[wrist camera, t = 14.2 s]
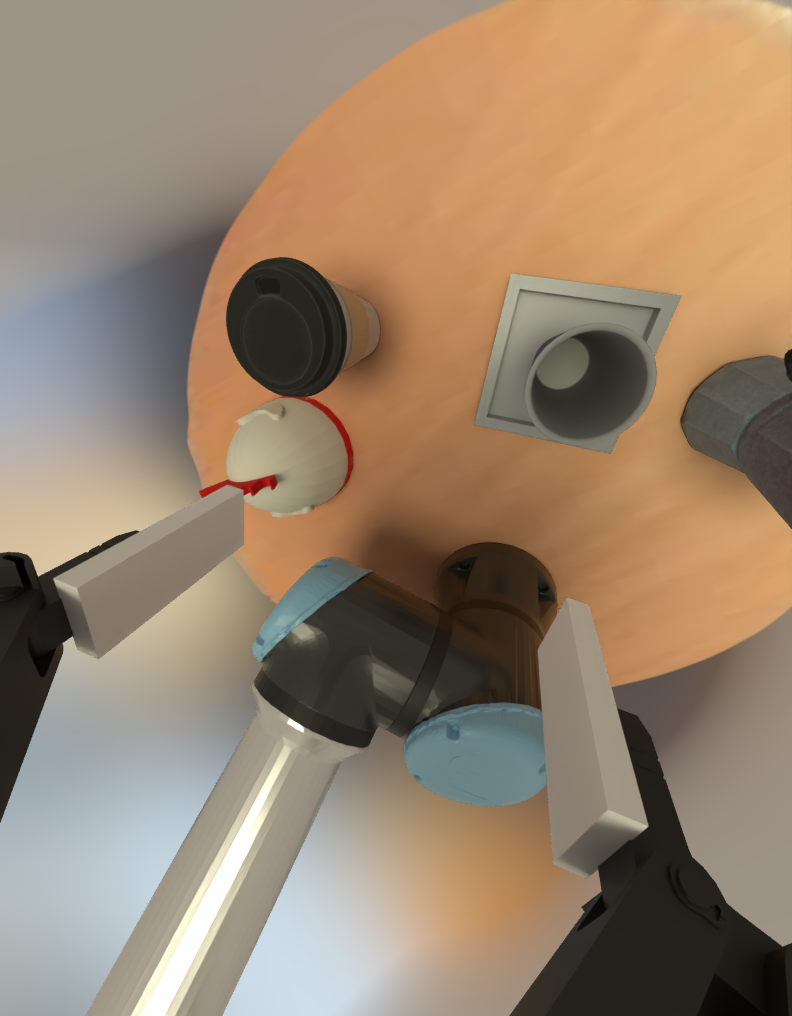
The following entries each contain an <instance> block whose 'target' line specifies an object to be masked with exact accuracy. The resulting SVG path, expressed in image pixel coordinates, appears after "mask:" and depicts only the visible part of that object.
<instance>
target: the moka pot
mask: <svg viewBox="0 0 792 1016" xmlns="http://www.w3.org/2000/svg"><path fill="white" fill-rule="evenodd" d="M681 423H682V428H683V431H684V433H685V435H686V437H687V439H688V442H689V444H690V445H691V447H692V448H694V449H695V450H697V451H700V452H702V453H704V454H706V455H708V456H710V457H712V458H714V459H716V460H718V461H720V462H722V463H724V464H726V465H728V466H731V467H733V468H735V469H737V470H739V471H741V472H743V473H745V474H746V476H747V477H748V479H749V480H750V481H751V482H752V483H753V484H754V486H755V487H756V488H757V489H758V490H759V491H760V493H761V494H762V495H763V496H764V497H765V498H766V499H767V501H768V502H769V503H770V504H771V505H772V506H773V508H774V509H775V510H776V511H777V512H778V514H779V515H780V516H781V517H782V518H783V519H784V520H785V522H786V523H787V524H788V525H789V526H790V528H791V529H792V349H791V350H788V352H787V353H786V354H785V358H784V359H781V358H778V357H775V356H764V357H757V358H752V359H747V360H742V361H738V362H733V363H729V364H727V365H725V366H724V367H723V368H721V369H719V370H718V371H716V372H715V373H714V374H713V375H711V376H710V377H709V378H708V379H706V380H705V381H704V382H703V383H702V384H701V385H700V386H699V387H698V388H697V389H696V390H695V391H694V393H693V394H692V396H691V397H690V399H689V401H688V404H687V406H686V409H685V411H684V414H683V418H682V421H681Z"/></svg>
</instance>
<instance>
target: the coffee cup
mask: <svg viewBox="0 0 792 1016" xmlns="http://www.w3.org/2000/svg"><path fill="white" fill-rule="evenodd" d="M226 325H227V332H228V337H229V341H230V344H231V347H232V349H233V352H234V354H235V356H236V358H237V360H238V361H239V363H240V364H241V366H242V367H243V368H244V370H245V371H246V372H247V373H248V374H249V375H250V376H251V377H252V378H253V379H255V380H256V381H257V382H259V383H260V384H261V385H262V386H264V387H265V388H267V389H268V390H270V391H272V392H274V393H276V394H279V395H282V396H287V397H308V396H312V395H315V394H317V393H319V392H321V391H322V390H324V389H325V388H327V387H328V386H329V385H330V384H331V383H332V382H333V381H334V379H335V378H336V376H337V375H338V374H340V373H341V372H343V371H345V370H347V369H348V368H350V367H352V366H354V365H355V364H357V363H358V362H359V361H360V360H361V359H362V358H364V357H366V356H368V355H369V354H371V353H372V352H373V351H374V350H375V348H376V346H377V344H378V341H379V337H380V322H379V318H378V315H377V313H376V311H375V309H374V308H373V306H372V305H371V304H370V303H369V302H367V301H366V300H364V299H362V298H360V297H358V296H357V295H355V294H354V293H353V292H352V291H350V290H348V289H346V288H344V287H342V286H340V285H338V284H336V283H334V282H332V281H330V280H328V279H326V278H324V277H323V276H322V275H321V274H320V273H319V272H318V271H316V270H315V269H314V268H312V267H311V266H309V265H308V264H306V263H304V262H302V261H299V260H296V259H292V258H286V257H279V258H272V259H266V260H263V261H260V262H258V263H256V264H254V265H253V266H252V267H250V268H249V269H248V270H247V271H246V272H245V273H244V274H243V275H242V277H241V278H240V280H239V281H238V282H237V284H236V285H235V287H234V289H233V290H232V293H231V295H230V298H229V301H228V305H227V313H226Z"/></svg>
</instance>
